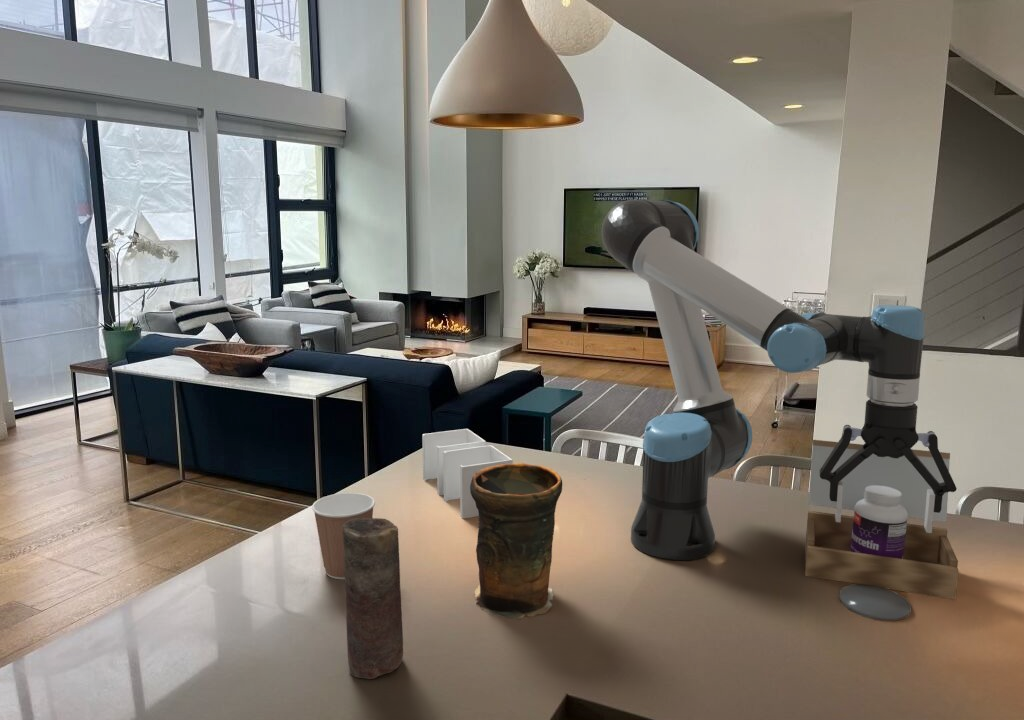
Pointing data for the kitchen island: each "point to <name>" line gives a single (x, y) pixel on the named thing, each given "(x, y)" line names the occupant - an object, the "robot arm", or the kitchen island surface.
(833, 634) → the kitchen island surface
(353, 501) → the coffee cup
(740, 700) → the kitchen island surface
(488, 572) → the vessel
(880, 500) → the pill bottle
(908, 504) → the lid
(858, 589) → the grey oval disc
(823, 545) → the wooden box
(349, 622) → the candle
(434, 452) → the storage container
